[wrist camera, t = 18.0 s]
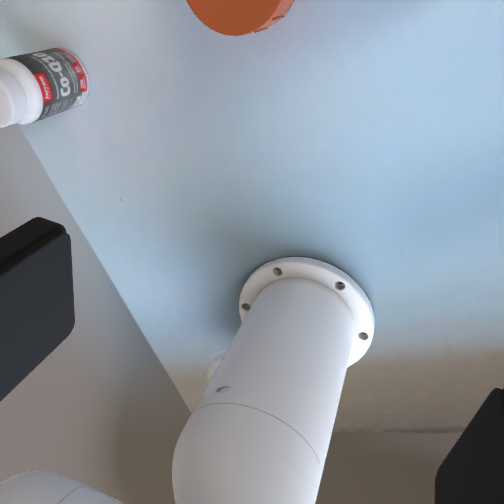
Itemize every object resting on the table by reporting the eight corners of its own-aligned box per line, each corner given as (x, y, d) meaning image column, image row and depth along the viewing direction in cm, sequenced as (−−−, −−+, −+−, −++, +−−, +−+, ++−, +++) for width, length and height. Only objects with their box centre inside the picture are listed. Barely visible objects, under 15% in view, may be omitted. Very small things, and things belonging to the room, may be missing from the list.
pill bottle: (101, 86, 39) (29, 111, 32) (70, 116, 41) (-3, 145, 34) (63, 34, 37) (-20, 49, 31) (33, 69, 40) (-50, 89, 33)
